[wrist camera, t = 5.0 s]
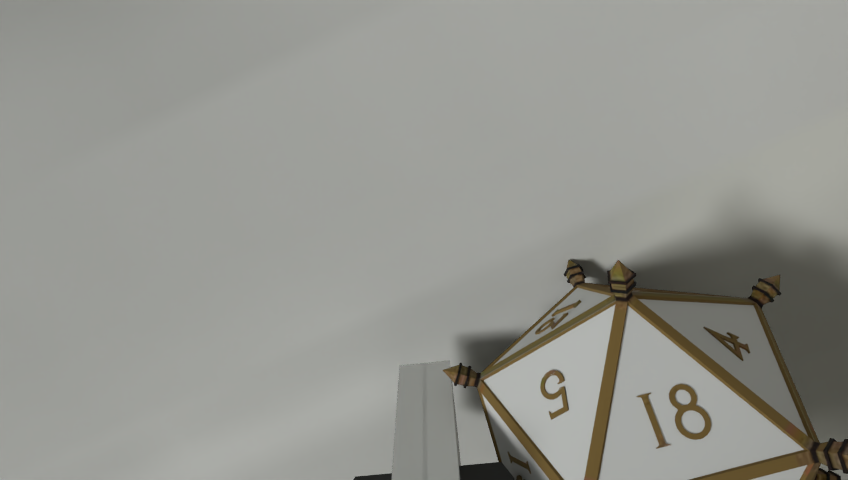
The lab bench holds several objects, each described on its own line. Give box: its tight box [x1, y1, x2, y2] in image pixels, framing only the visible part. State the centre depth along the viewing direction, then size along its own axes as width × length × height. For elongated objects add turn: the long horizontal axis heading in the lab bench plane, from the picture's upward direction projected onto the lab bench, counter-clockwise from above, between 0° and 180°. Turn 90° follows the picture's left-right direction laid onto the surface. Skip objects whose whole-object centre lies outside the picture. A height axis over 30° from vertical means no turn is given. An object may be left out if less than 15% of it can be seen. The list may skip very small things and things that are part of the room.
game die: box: [443, 260, 848, 480], centre depth 14 cm, size 9×8×10 cm
